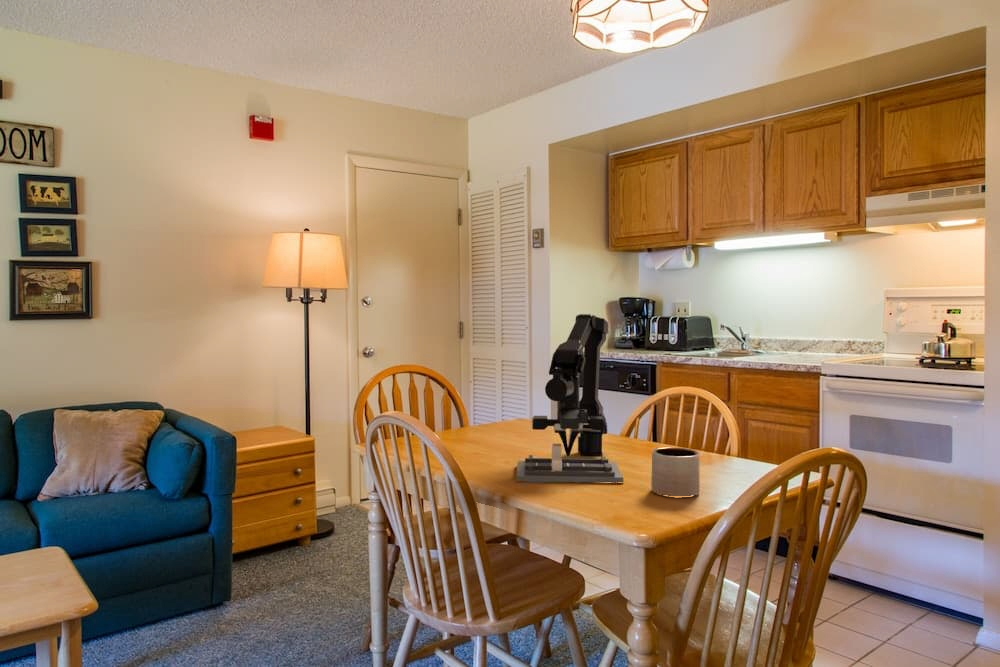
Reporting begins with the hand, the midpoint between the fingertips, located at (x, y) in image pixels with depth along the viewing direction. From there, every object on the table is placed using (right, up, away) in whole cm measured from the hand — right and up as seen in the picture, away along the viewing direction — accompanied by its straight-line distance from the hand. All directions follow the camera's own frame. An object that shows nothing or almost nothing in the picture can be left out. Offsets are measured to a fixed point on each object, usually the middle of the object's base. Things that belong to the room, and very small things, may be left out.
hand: (567, 455), depth 178 cm
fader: (-3, -2, 0) cm, 4 cm away
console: (0, -4, -4) cm, 6 cm away
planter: (+23, -5, -20) cm, 31 cm away
